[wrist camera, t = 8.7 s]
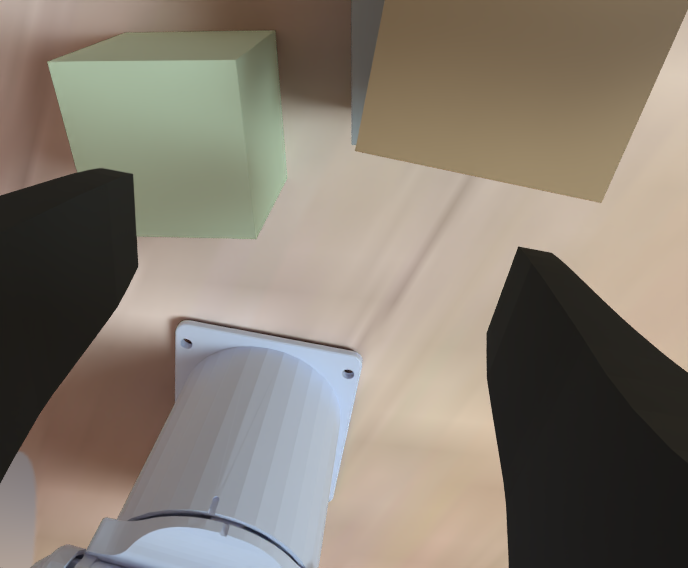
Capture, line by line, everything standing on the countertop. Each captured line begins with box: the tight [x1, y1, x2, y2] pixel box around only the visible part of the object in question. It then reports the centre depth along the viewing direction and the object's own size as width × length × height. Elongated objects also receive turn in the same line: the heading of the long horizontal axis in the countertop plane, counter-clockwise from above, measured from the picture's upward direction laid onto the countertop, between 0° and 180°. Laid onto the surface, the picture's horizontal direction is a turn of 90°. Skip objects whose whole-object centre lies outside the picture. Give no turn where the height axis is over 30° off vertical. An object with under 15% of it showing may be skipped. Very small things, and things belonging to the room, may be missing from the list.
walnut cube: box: [355, 0, 688, 203], centre depth 13 cm, size 5×5×5 cm
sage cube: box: [47, 30, 287, 239], centre depth 19 cm, size 5×5×5 cm
